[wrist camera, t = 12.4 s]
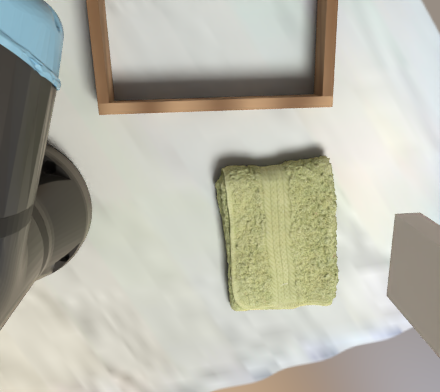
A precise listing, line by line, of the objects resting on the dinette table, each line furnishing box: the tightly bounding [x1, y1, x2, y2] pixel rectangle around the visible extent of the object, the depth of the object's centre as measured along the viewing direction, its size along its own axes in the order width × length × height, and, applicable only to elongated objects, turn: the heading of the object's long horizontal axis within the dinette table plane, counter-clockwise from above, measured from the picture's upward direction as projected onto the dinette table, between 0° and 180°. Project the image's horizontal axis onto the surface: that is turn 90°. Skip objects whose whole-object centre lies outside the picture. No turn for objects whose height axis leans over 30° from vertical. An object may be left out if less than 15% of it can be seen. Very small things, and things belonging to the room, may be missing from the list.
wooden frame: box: [86, 0, 338, 115], centre depth 38 cm, size 22×15×3 cm
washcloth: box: [215, 156, 339, 311], centre depth 46 cm, size 13×18×3 cm
